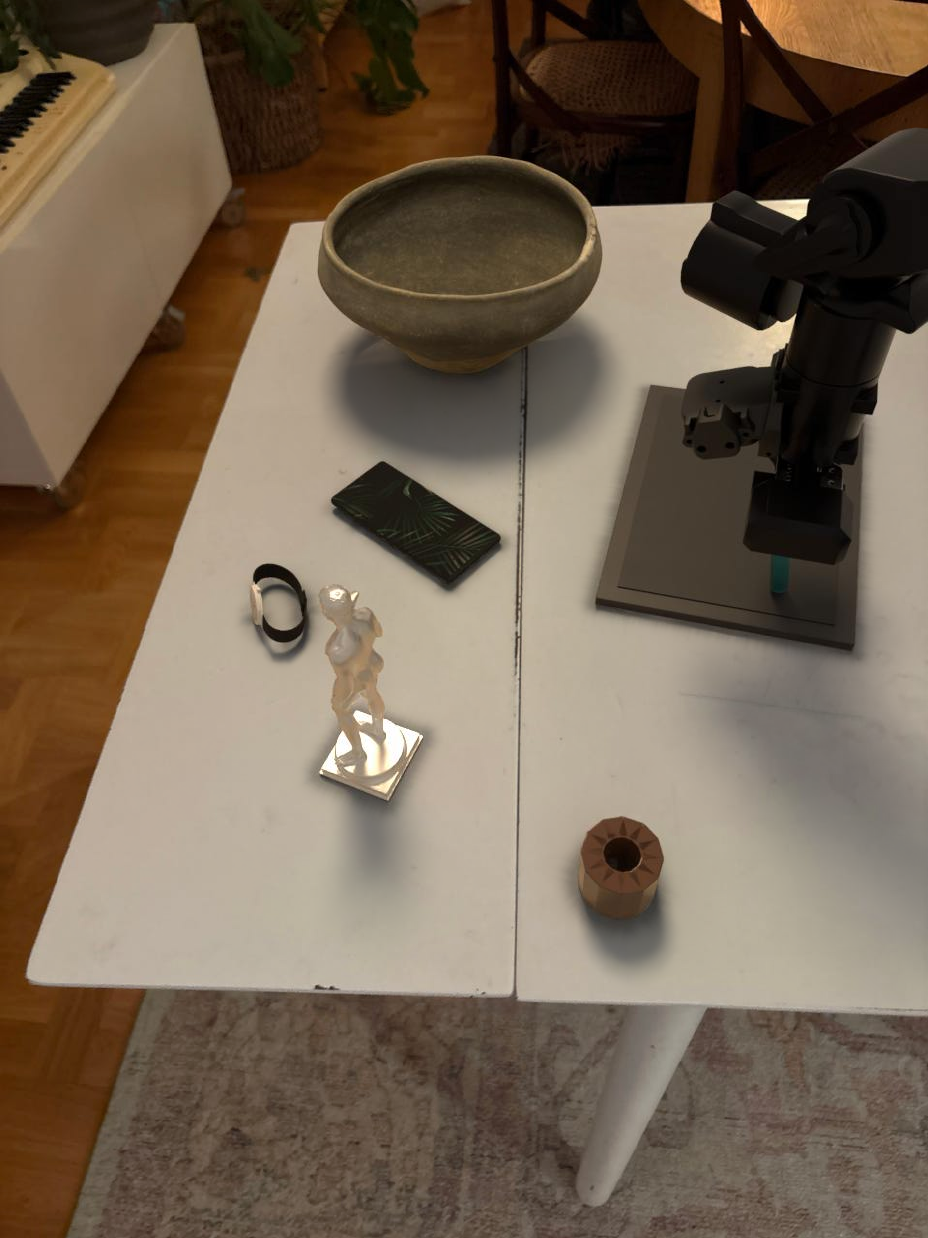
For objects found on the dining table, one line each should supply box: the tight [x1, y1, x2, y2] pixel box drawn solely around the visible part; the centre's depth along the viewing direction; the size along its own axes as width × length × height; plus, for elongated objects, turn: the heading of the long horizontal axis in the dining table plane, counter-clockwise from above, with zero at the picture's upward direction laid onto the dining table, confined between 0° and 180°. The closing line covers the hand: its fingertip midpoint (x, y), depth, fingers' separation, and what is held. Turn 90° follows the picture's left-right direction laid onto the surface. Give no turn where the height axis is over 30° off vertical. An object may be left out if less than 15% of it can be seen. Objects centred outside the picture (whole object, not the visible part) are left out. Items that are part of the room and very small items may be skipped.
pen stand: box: [577, 815, 665, 920], centre depth 58 cm, size 5×5×4 cm
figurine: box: [318, 584, 424, 802], centre depth 60 cm, size 8×7×18 cm
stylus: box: [770, 470, 790, 593], centre depth 68 cm, size 1×1×13 cm
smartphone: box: [330, 460, 502, 585], centre depth 81 cm, size 7×1×15 cm
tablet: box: [594, 384, 864, 652], centre depth 80 cm, size 28×20×1 cm
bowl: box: [317, 155, 603, 374], centre depth 92 cm, size 28×28×14 cm
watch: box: [249, 562, 308, 644], centre depth 74 cm, size 8×5×4 cm, turn 20°
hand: (779, 532), depth 68 cm, fingers closed on stylus, 1 cm apart
